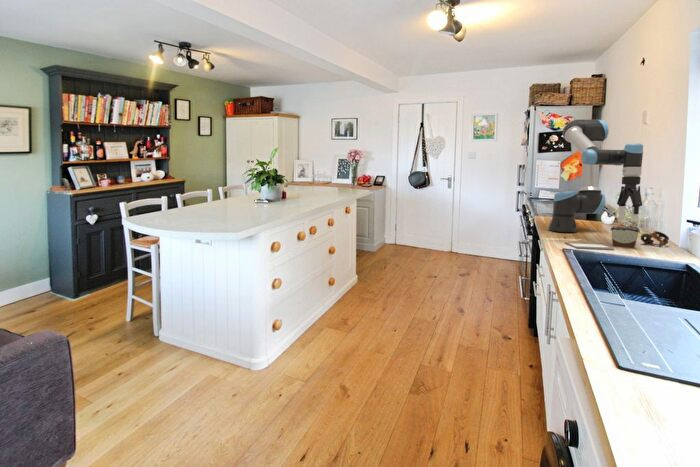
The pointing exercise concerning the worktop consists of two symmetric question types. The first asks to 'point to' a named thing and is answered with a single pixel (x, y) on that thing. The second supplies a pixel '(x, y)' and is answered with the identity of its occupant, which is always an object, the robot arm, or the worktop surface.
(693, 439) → the worktop surface
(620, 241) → the food container
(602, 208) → the robot arm
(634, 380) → the worktop surface
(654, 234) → the brown looped knot
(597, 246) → the board
